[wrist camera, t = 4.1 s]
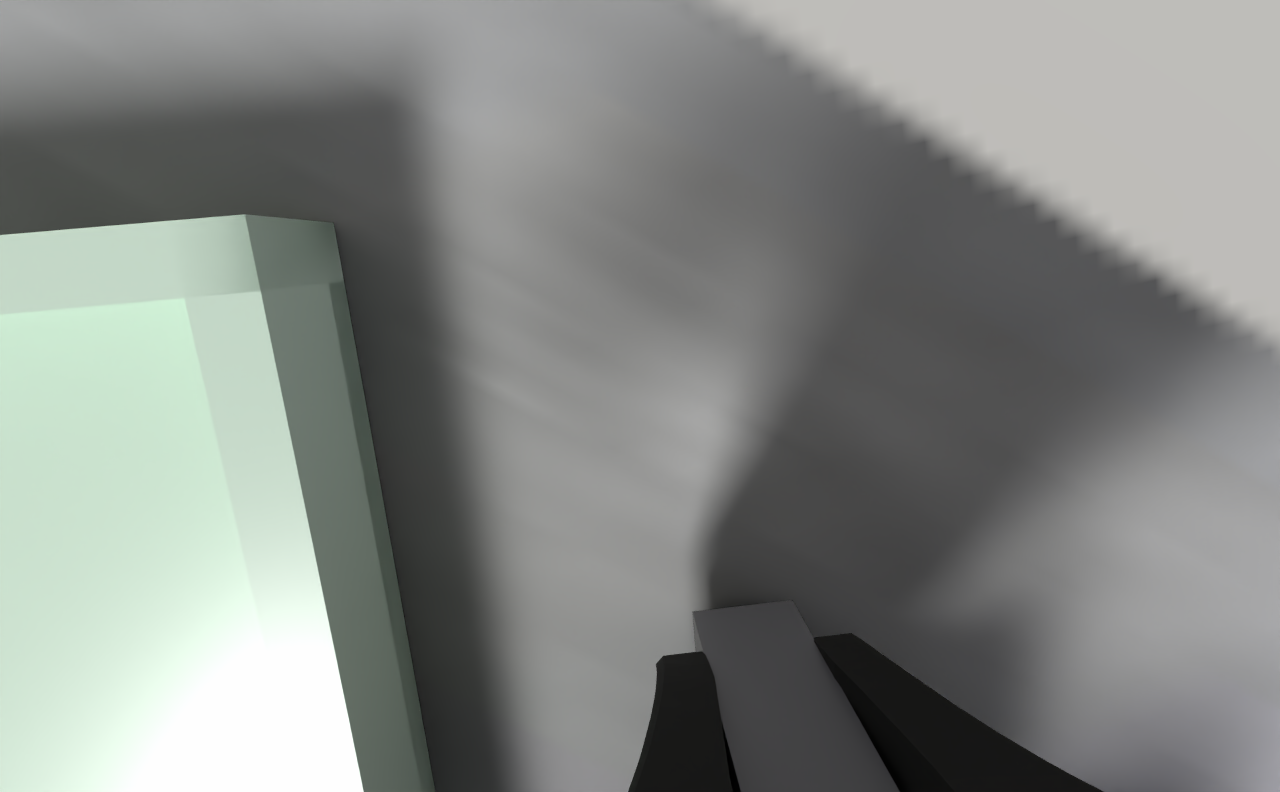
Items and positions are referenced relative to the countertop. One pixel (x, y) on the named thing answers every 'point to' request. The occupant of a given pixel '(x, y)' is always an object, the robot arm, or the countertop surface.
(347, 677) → the tray
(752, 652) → the grey bottle-shaped block
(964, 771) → the robot arm
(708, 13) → the countertop surface
